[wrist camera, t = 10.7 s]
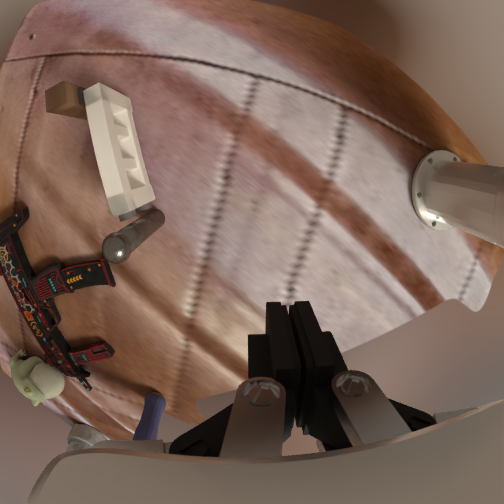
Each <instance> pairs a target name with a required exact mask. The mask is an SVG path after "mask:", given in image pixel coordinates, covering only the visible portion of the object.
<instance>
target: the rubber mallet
mask: <svg viewBox="0 0 504 504" xmlns="http://www.w3.org/2000/svg"><path fill="white" fill-rule="evenodd" d="M165 406H166V402H165V399H164V397H163V396H162V395H161V394H159V393H157V392H152V393H150V394H149V395H147V396H146V397H145V406H144V410H143V413H142V417H141V420H140V422H139V424H138V426H137V428H136V430H135V434H134V437H133V441H134V440H157V432H158V425H159V422H160V418H161V414H162V412H163V411H164V409H165Z"/></svg>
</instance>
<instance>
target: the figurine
mask: <svg viewBox="0 0 504 504" xmlns="http://www.w3.org/2000/svg"><path fill="white" fill-rule="evenodd" d="M22 350H23V349H21V350H20V351H18V352H17V353H16V355H14V356H13V357H11V358H10V360H9V366H10V367H11V375H12V379H13V381H14V384H15V385H16V387H17V388H18V390H19V391H20V392H21V393H22V394H23V395H24V396H26V397H27V398H29V399H31V402H32V405H33V406H38V405H39V403H40V402H44V401H45V400H46V399H48V398H54V397H56V396H58V395H59V394H60V393H61V392H62V390H63V388H64V383H65V382H64V377H63V374H62V373H61V371H60V370H58V369H56V367H55V366H54V367H52V366H51V365H50V363H49V364H45V362H44V361H43V360H42V359H40V358H39V357H37V356H33V357H30V358H28V359H27V360H22V359H19V358H20V357H22V356H24V355H25V356H27V355H26V354H24V353H25V351H24V352H23V351H22Z"/></svg>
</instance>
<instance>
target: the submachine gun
mask: <svg viewBox="0 0 504 504" xmlns="http://www.w3.org/2000/svg"><path fill="white" fill-rule="evenodd" d="M28 218H29V211H28V207H26V208H23V209H20V210H19V211H18V212H16V213H15V214H13V215H12V216H11V217H9V218H8V219H6V220H5V221H4V222H2V223H1V224H0V275H1V276H2V275H3V277H4V279H5V281H6V283H7V286H8V288H9V290H10V292H11V294H12V296H13V298H14V300H15V302H16V304H17V306H18V308H19V310H20V312H21V314H22V315H23V317H24V319H25V321H26V323H27V324H28V326H29V328H30V330H31V331H32V333H33V335H34V336H35V338H36V340H37V341H38V343H39V344H40V346H41V348H42V349H43V351H44V352H45V354H44V356H45V358H46V360H47V361H44V362H45V364H49V363H50V365H51V366H52V367H54V366H55V367H56V369H58V370H60V371H61V372H62V373H64V374H65V375H67V376H70V377H77V379H79V381H80V382H81V383H82V385H83V386H84V387H85V389H86V390H87V391H90V390H91V389H92V387H91V386H90V384H89V383H88V382H87V380H86V379H85V377H89V376H90V374H91V373H90V372H88V371H86V370H84V369H83V367H82V366H81V364H85V363H90V362H95V361H99V360H104V359H108V358H112V356H113V354H114V352H115V351H114V350H113V349H112V347H111V346H108V345H107V344H106V343H105V342H98V343H95V344H90V345H86V346H82V347H78V348H75V349H72V350H71V348H70V346H69V345H68V343H67V342H66V340H65V339H64V337H63V335H62V334H61V332H60V330H58V328H57V327H56V326H57V325H58V324H59V323H60V321H61V316H60V314H59V312H58V310H57V308H56V306H55V303H54V297H55V296H58V295H61V294H64V293H73V292H74V290H76V289H80V288H84V287H89V286H94V285H110V286H112V287H115V285H116V283H115V280H114V277H113V275H112V272H111V269H110V266H109V263H108V261H107V260H106V259H105V257H103V258H102V259H101V260H94V261H88V262H82V263H78V264H74V265H71V266H68V267H66V268H65V266H64V264H63V263H61V262H57V263H53V264H51V265H49V266H47V267H46V268H44V269H43V270H42V271H41V272H39V273H38V274H37V275H36V276H35V275H34V273H33V270H32V268H31V266H30V264H29V261H28V259H27V257H26V254H25V252H24V249H23V247H22V244H21V241H20V239H19V236H18V233H17V231H18V230H19V229H20V228H21V226H22V225H23V224H24V223H25V222H26V221H27V220H28ZM45 303H46V304H48V305H49V307H48V306H46V304H45ZM48 309H49V310H50V311H52V312H53V314H54V315H55V317H56V319H57V323H56V322H55V320H54V319H53V317H52V315H51V314H50V312H49V310H48ZM83 381H84V382H85V383H86V384H87V386H88V387H87V386H86V385H85V384H84V382H83ZM88 388H89V389H88Z"/></svg>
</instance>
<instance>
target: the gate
mask: <svg viewBox="0 0 504 504" xmlns="http://www.w3.org/2000/svg"><path fill="white" fill-rule="evenodd" d="M83 94H84V100H85V106H86V112H87V117H88V123H89V128H90V132H91V137H92V142H93V146H94V151H95V155H96V159H97V163H98V167H99V171H100V175H101V179H102V182H103V186H104V190H105V193H106V197H107V200H108V203H109V207H110V210H111V213H112V216H113V217H116V216H119V218H120V221H124V220H127V219H130V218H133V217H134V216H136V215H137V214H136V211H135V209H136V208H137V210H138V212H140V211H143V210H146V209H149V208H151V207H152V205H151V201H153V200H155V196H154V193H153V189H152V186H151V184H150V183H149V179H148V176H147V172H146V169H145V165H144V161H143V157H142V153H141V149H140V145H139V141H138V137H137V133H136V129H135V125H134V120H133V116H132V112H133V110H132V106H131V101H130V98H128V97H126V96H124V95H123V94H121V93H119V92H117V91H115V90H113V89H111V88H109V87H107V86H105V85H103V84H101V83H97V84H95V85H93V86H91V87H89V88H87V89H85V90H83Z"/></svg>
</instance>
